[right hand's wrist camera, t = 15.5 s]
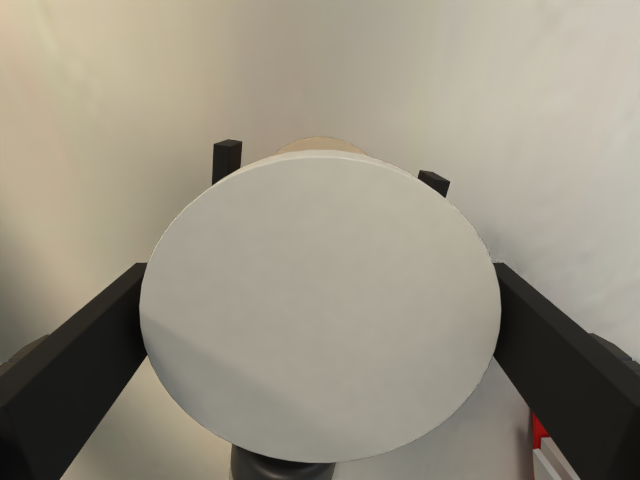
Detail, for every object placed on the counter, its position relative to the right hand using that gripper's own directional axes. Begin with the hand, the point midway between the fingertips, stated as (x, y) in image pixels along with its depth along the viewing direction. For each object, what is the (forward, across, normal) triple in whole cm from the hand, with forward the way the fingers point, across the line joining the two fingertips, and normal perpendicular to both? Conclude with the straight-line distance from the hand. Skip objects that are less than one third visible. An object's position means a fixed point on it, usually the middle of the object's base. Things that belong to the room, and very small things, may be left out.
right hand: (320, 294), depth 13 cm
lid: (-2, 0, 0) cm, 2 cm away
